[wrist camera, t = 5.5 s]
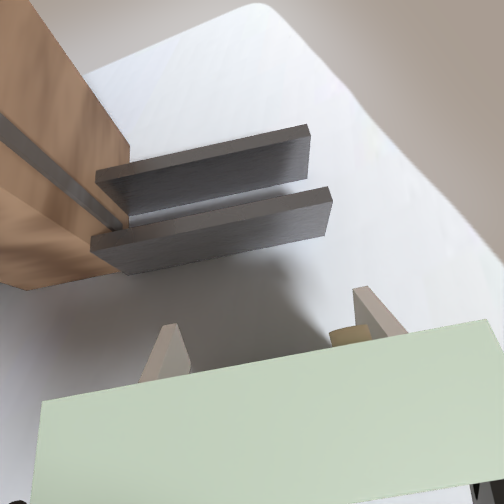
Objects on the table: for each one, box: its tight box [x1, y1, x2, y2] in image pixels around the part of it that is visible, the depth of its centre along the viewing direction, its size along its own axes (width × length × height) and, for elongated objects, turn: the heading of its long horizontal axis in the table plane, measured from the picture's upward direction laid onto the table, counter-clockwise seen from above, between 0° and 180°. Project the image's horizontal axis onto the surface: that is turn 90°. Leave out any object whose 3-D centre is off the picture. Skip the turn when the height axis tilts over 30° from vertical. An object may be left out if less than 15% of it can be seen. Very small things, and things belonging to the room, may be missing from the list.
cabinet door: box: [30, 319, 504, 504], centre depth 12 cm, size 9×3×15 cm, turn 100°
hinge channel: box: [90, 124, 333, 275], centre depth 23 cm, size 16×7×5 cm, turn 99°
